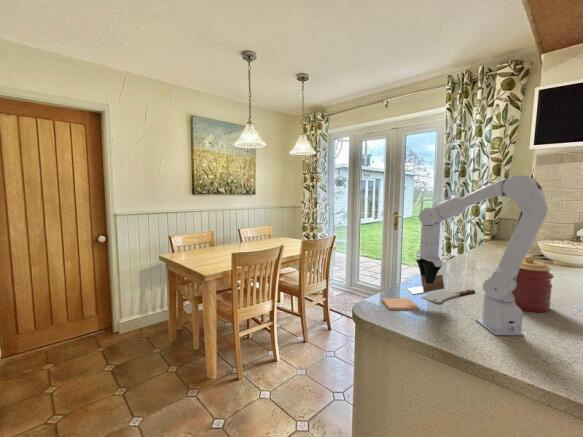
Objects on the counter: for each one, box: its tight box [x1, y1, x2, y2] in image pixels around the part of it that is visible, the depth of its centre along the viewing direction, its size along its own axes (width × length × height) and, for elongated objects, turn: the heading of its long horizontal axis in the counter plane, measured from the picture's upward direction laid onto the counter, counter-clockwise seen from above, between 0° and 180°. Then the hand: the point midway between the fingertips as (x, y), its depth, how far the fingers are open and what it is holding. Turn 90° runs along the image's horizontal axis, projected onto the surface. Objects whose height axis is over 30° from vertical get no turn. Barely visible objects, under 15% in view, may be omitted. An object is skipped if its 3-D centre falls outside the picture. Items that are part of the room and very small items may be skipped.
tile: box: [381, 297, 420, 311], centre depth 100 cm, size 8×1×10 cm
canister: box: [512, 255, 554, 313], centre depth 100 cm, size 13×13×18 cm
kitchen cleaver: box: [420, 288, 476, 305], centre depth 110 cm, size 24×1×10 cm
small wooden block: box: [407, 271, 445, 296], centre depth 99 cm, size 5×11×5 cm, turn 89°
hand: (427, 281), depth 99 cm, fingers closed on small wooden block, 3 cm apart
